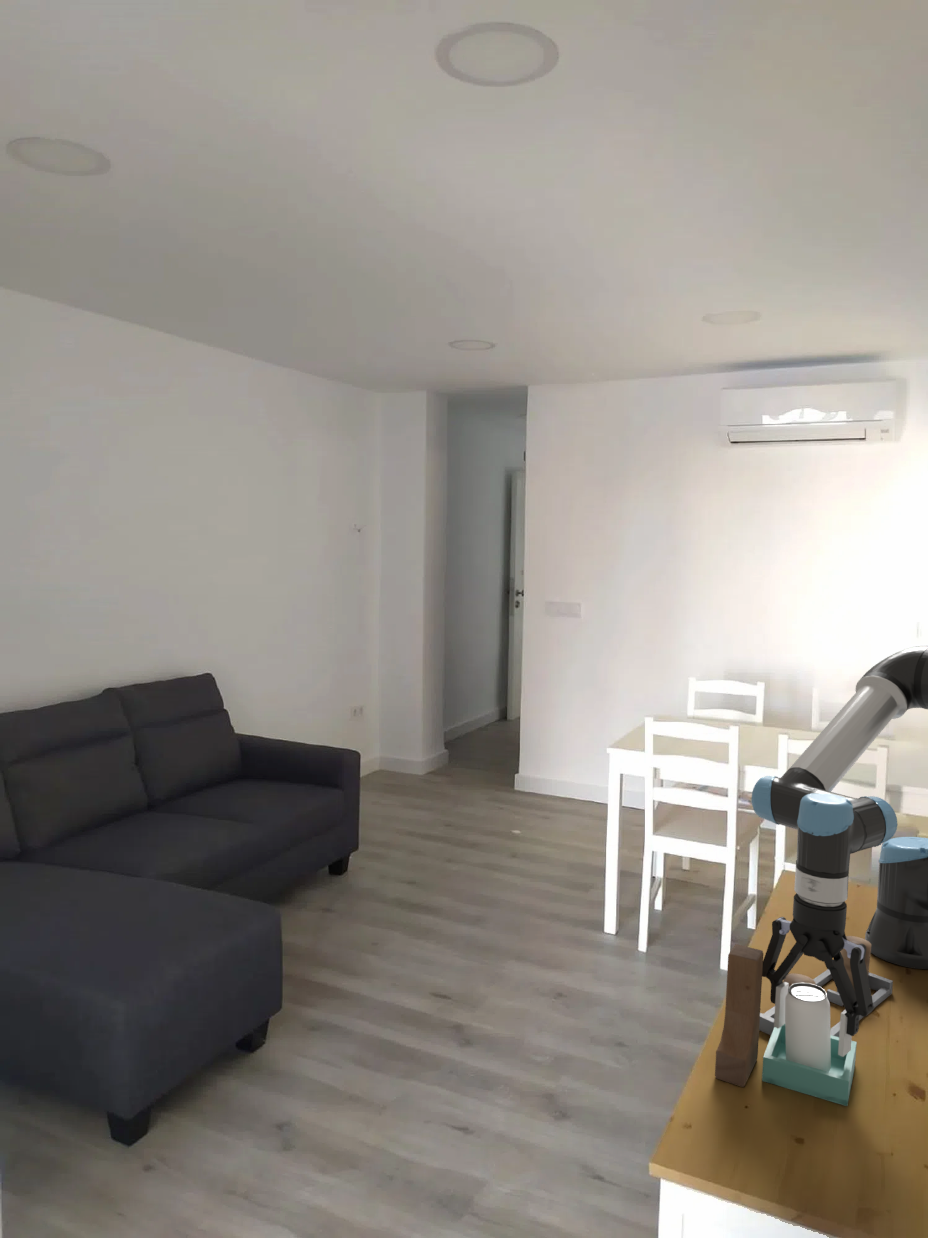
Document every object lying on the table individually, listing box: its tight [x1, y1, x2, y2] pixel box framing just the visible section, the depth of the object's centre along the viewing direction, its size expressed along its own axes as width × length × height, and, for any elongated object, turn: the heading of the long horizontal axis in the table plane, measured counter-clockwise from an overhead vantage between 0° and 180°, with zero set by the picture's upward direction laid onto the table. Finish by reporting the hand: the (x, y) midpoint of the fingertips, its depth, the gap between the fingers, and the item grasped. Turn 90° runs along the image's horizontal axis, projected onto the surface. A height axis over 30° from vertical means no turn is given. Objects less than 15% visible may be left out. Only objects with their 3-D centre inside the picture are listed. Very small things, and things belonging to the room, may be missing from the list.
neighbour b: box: [783, 973, 816, 986], centre depth 149 cm, size 5×5×9 cm
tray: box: [761, 1024, 858, 1107], centre depth 138 cm, size 12×12×4 cm
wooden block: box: [714, 944, 764, 1088], centre depth 137 cm, size 9×4×18 cm, turn 149°
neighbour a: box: [840, 935, 872, 990], centre depth 164 cm, size 5×5×9 cm
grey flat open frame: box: [759, 968, 894, 1037], centre depth 157 cm, size 30×11×2 cm, turn 133°
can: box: [785, 983, 831, 1072], centre depth 137 cm, size 6×6×12 cm
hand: (811, 1038), depth 137 cm, fingers open, 9 cm apart
